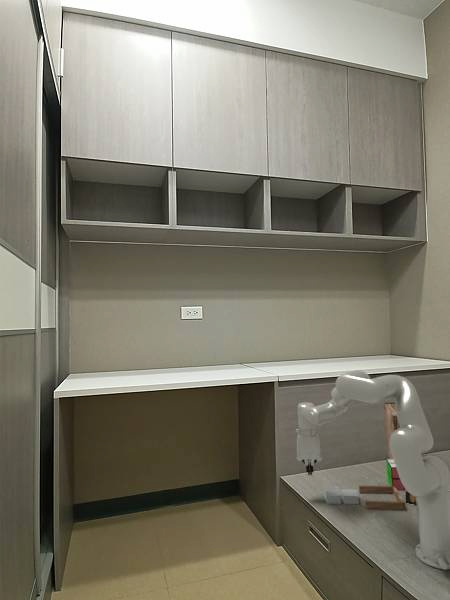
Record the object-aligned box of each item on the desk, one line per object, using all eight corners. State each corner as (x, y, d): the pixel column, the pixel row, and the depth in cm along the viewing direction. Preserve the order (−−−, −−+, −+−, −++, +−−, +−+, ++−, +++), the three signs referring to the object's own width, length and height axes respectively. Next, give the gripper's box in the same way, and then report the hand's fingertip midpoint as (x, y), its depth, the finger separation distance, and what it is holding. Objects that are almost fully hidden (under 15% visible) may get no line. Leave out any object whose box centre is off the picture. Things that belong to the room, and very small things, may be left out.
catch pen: (405, 510, 151) (405, 502, 151) (366, 509, 153) (366, 501, 153) (395, 492, 166) (394, 485, 166) (359, 492, 168) (359, 485, 168)
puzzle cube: (416, 490, 166) (415, 467, 167) (392, 490, 168) (390, 467, 169) (410, 481, 176) (408, 459, 177) (387, 480, 178) (386, 459, 179)
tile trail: (341, 504, 159) (340, 495, 159) (327, 504, 160) (326, 495, 160) (338, 497, 165) (337, 489, 165) (324, 497, 166) (323, 489, 166)
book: (418, 479, 177) (413, 414, 179) (397, 478, 180) (392, 414, 181) (406, 458, 202) (402, 402, 204) (388, 458, 204) (383, 402, 206)
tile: (359, 504, 158) (358, 496, 158) (344, 504, 159) (343, 495, 159) (357, 497, 164) (356, 489, 164) (342, 497, 165) (342, 489, 165)
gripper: (290, 434, 163) (292, 477, 162) (325, 434, 161) (328, 478, 160) (290, 429, 170) (292, 470, 170) (324, 429, 168) (326, 470, 167)
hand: (309, 473), depth 165 cm, fingers closed
